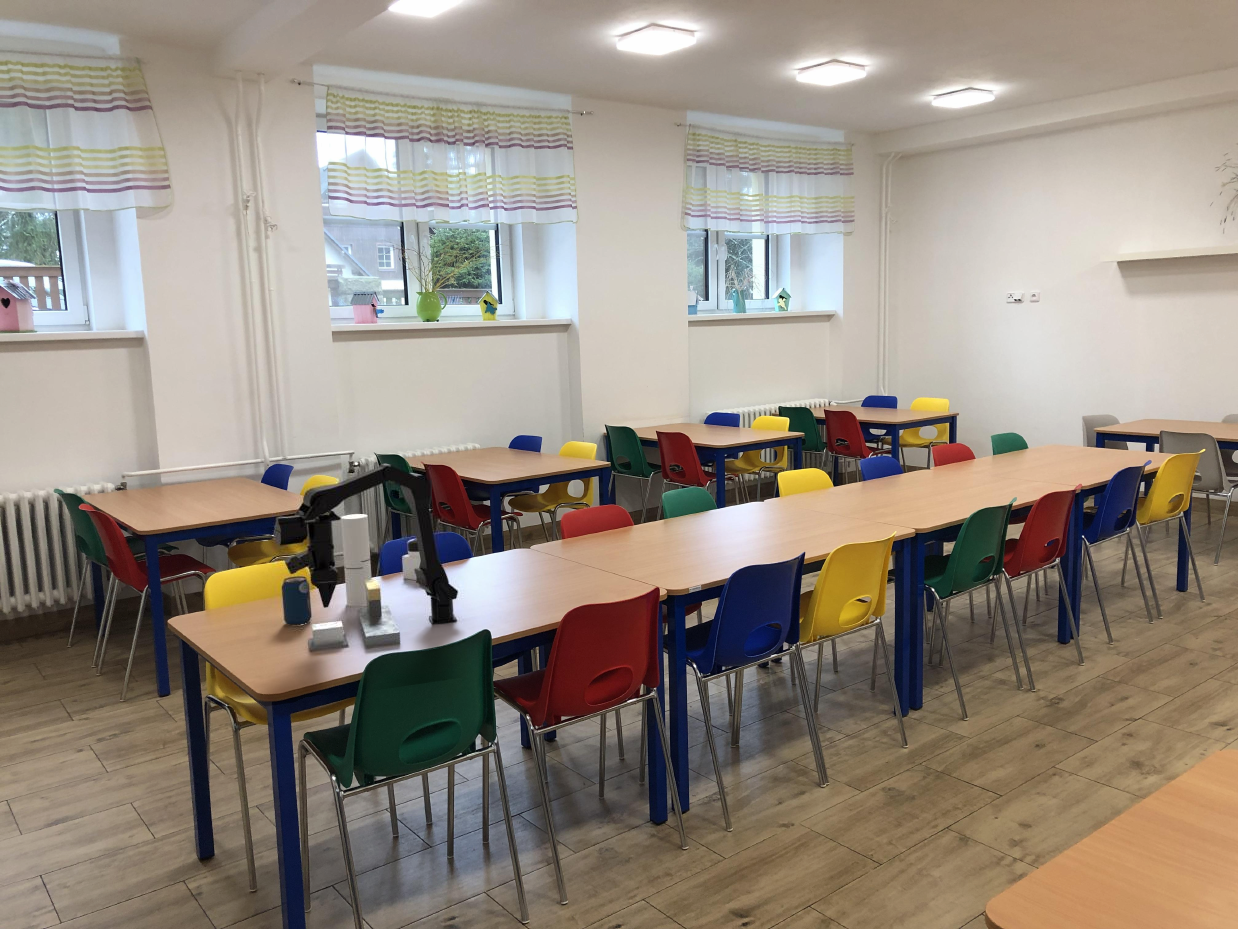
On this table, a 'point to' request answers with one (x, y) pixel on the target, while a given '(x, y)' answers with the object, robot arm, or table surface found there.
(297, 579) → the soda can
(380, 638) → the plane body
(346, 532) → the cylindrical container
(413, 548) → the medicine bottle
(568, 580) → the table surface
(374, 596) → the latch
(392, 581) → the table surface
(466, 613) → the table surface
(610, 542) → the table surface
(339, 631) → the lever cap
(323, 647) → the mat
